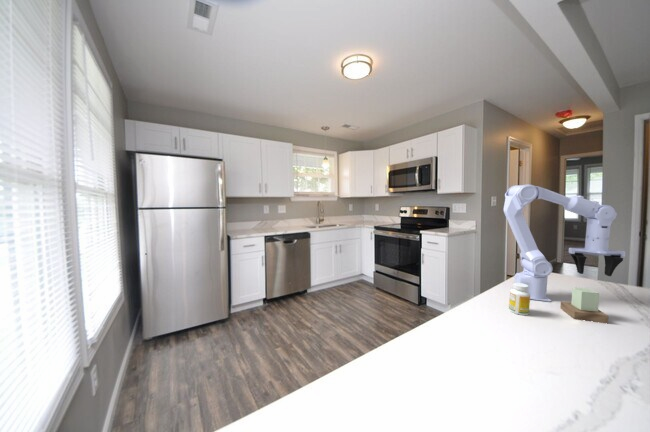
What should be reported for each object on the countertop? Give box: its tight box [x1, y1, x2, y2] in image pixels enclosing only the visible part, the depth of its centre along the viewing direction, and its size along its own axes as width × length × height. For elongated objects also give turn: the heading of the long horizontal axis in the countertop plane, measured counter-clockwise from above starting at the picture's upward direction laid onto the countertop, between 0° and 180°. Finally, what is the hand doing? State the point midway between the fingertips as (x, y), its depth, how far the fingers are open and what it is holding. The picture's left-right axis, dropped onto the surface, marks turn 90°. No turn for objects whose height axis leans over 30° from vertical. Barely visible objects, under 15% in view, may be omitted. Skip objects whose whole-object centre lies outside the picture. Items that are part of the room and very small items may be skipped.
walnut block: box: [560, 301, 609, 325], centre depth 80 cm, size 8×8×3 cm
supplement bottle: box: [508, 282, 531, 316], centre depth 83 cm, size 5×5×10 cm
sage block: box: [571, 286, 600, 312], centre depth 80 cm, size 4×4×6 cm
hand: (593, 274), depth 90 cm, fingers open, 7 cm apart
